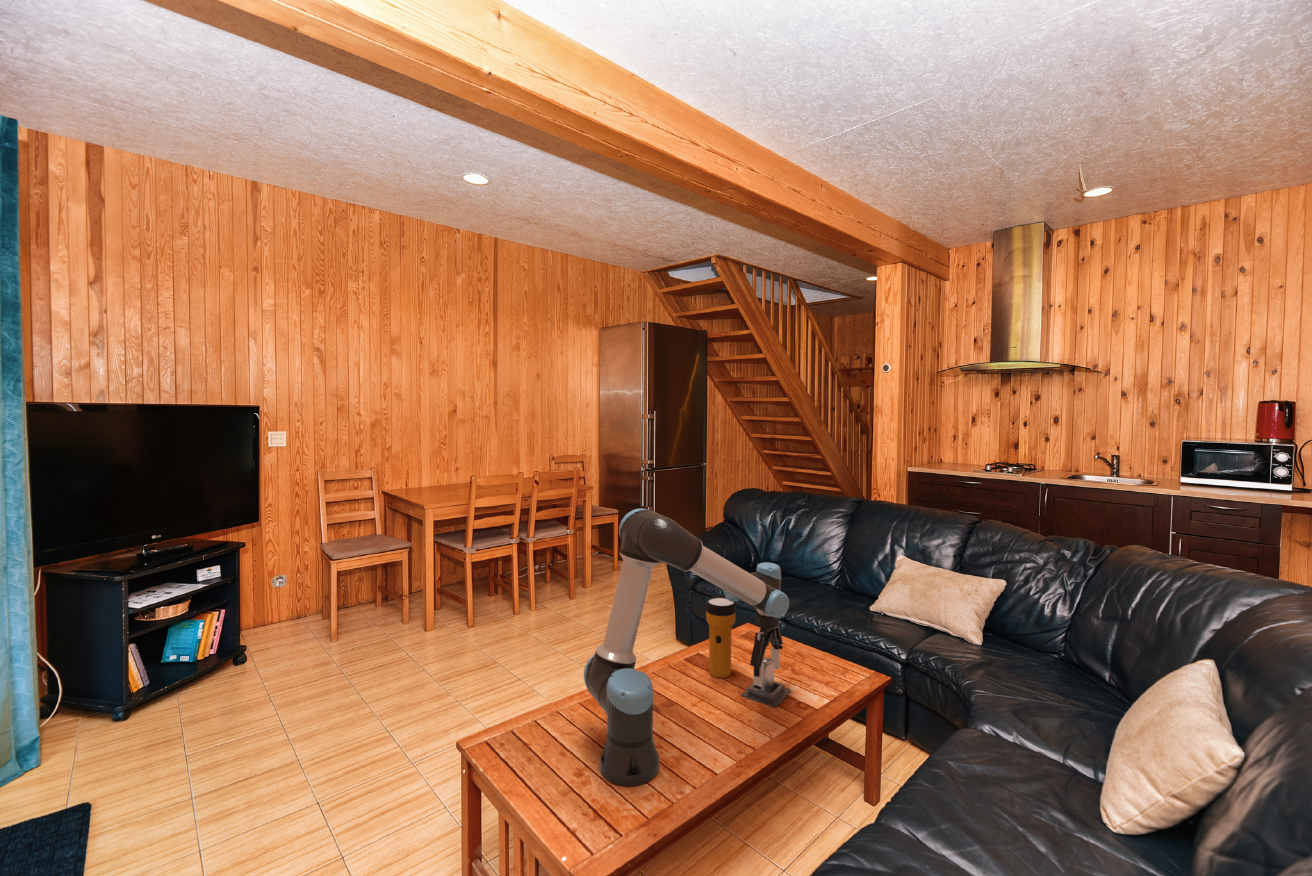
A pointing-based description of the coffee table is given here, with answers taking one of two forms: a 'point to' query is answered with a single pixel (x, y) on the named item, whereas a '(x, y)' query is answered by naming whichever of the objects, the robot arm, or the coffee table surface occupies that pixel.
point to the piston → (767, 675)
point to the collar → (767, 694)
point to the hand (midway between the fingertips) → (766, 676)
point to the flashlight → (720, 634)
